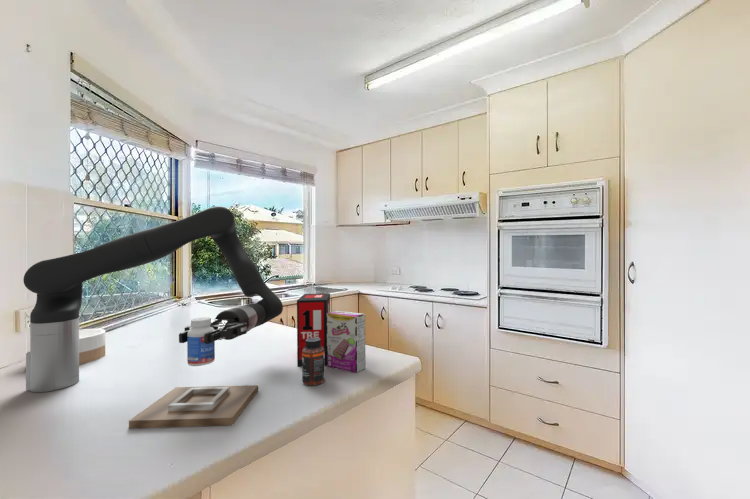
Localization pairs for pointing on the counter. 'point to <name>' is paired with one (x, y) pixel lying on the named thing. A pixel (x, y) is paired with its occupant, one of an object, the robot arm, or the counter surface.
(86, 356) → the bowl
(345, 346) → the candy bar box
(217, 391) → the walnut board
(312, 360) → the supplement bottle
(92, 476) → the counter surface
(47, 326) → the robot arm
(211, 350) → the pill bottle
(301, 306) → the cleaning product box
